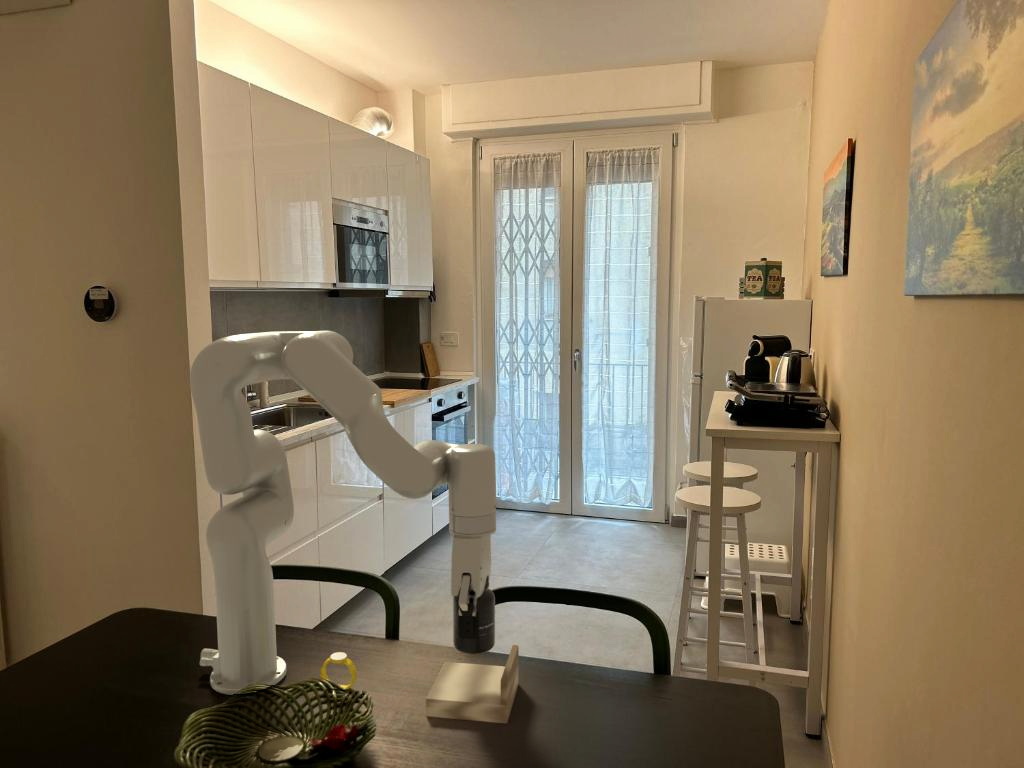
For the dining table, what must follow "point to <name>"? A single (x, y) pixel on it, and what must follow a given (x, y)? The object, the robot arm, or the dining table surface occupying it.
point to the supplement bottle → (485, 624)
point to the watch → (337, 659)
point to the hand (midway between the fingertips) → (474, 626)
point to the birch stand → (475, 691)
